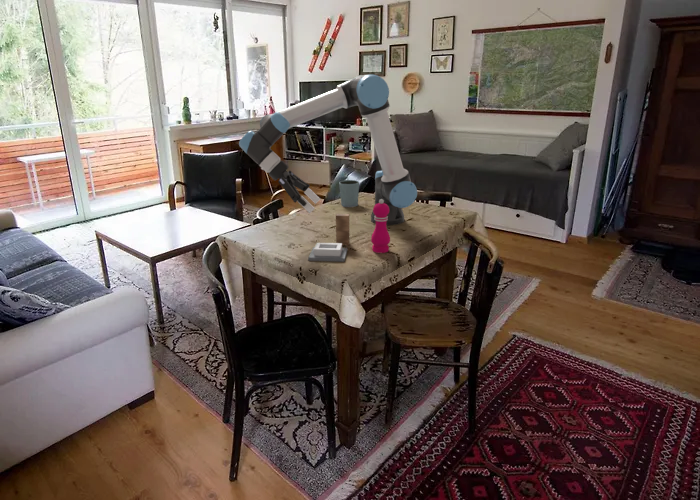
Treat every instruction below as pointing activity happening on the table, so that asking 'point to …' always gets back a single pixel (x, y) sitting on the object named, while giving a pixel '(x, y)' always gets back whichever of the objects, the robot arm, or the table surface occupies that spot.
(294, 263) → the table surface
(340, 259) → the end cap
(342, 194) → the blue-grey cup
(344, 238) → the wooden slat
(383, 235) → the pepper mill
